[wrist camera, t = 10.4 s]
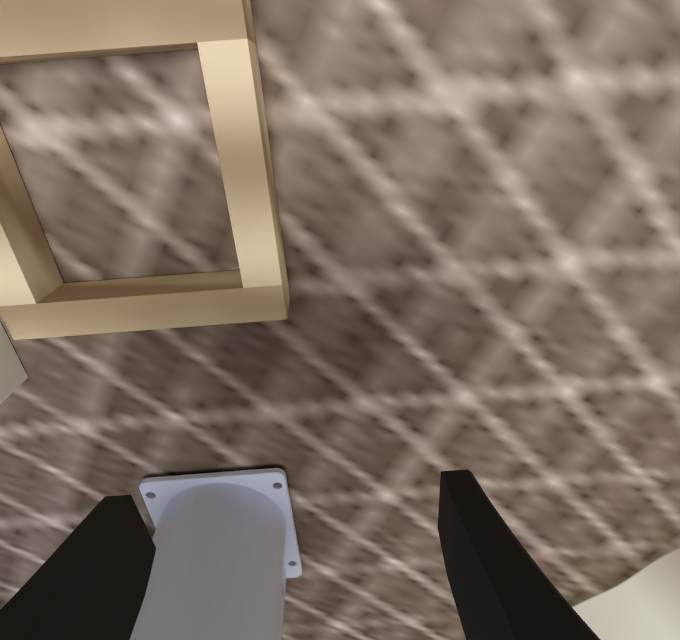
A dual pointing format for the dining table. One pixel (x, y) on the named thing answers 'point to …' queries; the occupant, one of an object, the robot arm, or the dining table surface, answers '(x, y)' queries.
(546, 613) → the robot arm
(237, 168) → the wooden square frame
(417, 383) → the dining table surface
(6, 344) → the tray
